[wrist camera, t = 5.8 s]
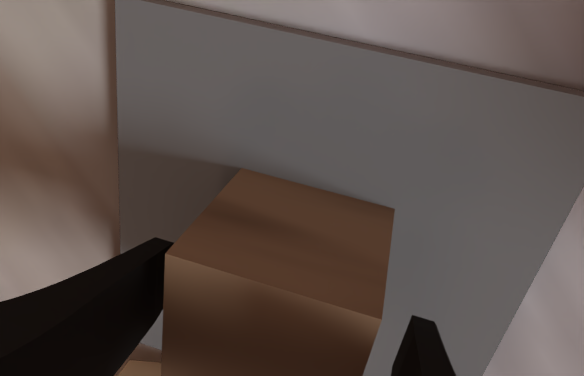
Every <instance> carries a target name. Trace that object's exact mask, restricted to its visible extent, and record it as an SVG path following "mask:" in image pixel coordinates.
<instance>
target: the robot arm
mask: <svg viewBox="0 0 584 376" xmlns="http://www.w3.org/2000/svg"><path fill="white" fill-rule="evenodd" d="M173 244H174V243H173V242H170V241H167V240H163V239H160V238H157V237H155V238H152V239H150V240H148V241H146V242H144V243H142V244H140V245H138V246H136V247H134V248H132V249H130V250H128V251H126V252H124V253H122V254H120V255H118V256H116V257H114V258H112V259H110V260H108V261H106V262H104V263H102V264H100V265H97V266H95V267H93V268H91V269H89V270H86V271H84V272H82V273H79V274H77V275H75V276H73V277H70V278H68V279H66V280H63V281H61V282H58V283H56V284H53V285H51V286H48V287H45V288H43V289H40V290H37V291H34V292H31V293H28V294H25V295H22V296H19V297H16V298H13V299H9V300H6V301H2V302H0V376H114V374H115V373H116V372H117V371H118V369H119V368H120V367H121V366H122V364H123V363H124V362H125V360H126V359H127V358H128V357H129V355H130V354H131V353H132V352H133V350H134V349H135V348H136V346H137V345H138V344H139V343H140V341H141V340H142V339H143V337H144V336H145V335H146V334H147V332H148V331H149V330H150V328H151V327H152V326H153V324H154V323H155V321H156V320H157V318H158V317H159V315H160V313H161V312H162V310H163V300H164V271H165V253H166V252H167V251H168V250H169V249H170V248H171V246H172V245H173ZM391 376H456V374H455V371H454V369H453V367H452V364H451V362H450V359H449V357H448V355H447V352H446V349H445V347H444V344H443V342H442V339H441V336H440V333H439V331H438V328H437V325H436V324H435V322H434V321H431V320H428V319H425V318H421V317H418V316H415V315H412V316H411V319H410V322H409V324H408V327H407V329H406V332H405V334H404V337H403V340H402V342H401V345H400V347H399V350H398V352H397V355H396V357H395V360H394V363H393V365H392V372H391Z"/></svg>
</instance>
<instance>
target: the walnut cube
mask: <svg viewBox="0 0 584 376" xmlns="http://www.w3.org/2000/svg"><path fill="white" fill-rule="evenodd" d="M394 213H395V209H393V208H390V207H386V206H382V205H378V204H375V203H371V202H367V201H363V200H360V199H356V198H352V197H348V196H345V195H341V194H337V193H333V192H330V191H326V190H322V189H319V188H315V187H311V186H307V185H304V184H300V183H296V182H292V181H289V180H285V179H281V178H277V177H274V176H270V175H266V174H262V173H259V172H255V171H251V170H247V169H244V168H241V169H240V170H239V172H238V173H237V174H236V175H235V176H234V177H233V178H232V179H231V180H230V182H229V183H228V184H227V185H226V186H225V187H224V188H223V189H222V191H221V192H220V193H219V194H218V195H217V196H216V197H215V198H214V199H213V201H212V202H211V203H210V204H209V205H208V206H207V207H206V208H205V210H204V211H203V212H202V213H201V214H200V215H199V216H198V217H197V218H196V220H195V221H194V222H193V223H192V224H191V225H190V226H189V227H188V229H187V230H186V231H185V232H184V233H183V234H182V235H181V236H180V237H179V239H178V240H177V241H176V242H175V243H174V244H173V245H172V246H171V248H170V249H169V250H168V251H167V252H166V253H165V271H164V300H163V329H162V358H161V376H363V373H364V370H365V367H366V364H367V361H368V358H369V356H370V353H371V350H372V347H373V344H374V341H375V338H376V335H377V332H378V330H379V327H380V324H381V321H382V315H383V306H384V298H385V289H386V281H387V272H388V264H389V255H390V247H391V238H392V230H393V221H394Z"/></svg>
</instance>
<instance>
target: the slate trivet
mask: <svg viewBox="0 0 584 376" xmlns="http://www.w3.org/2000/svg"><path fill="white" fill-rule="evenodd" d="M115 28H116V74H117V121H118V167H119V214H120V254H122V253H124V252H126V251H128V250H130V249H132V248H134V247H136V246H138V245H140V244H142V243H144V242H146V241H148V240H150V239H152V238H155V237H157V238H160V239H163V240H167V241H170V242H173V243H175V242H176V241H177V240H178V239H179V237H180V236H181V235H182V234H183V233H184V232H185V231H186V230H187V229H188V227H189V226H190V225H191V224H192V223H193V222H194V221H195V220H196V218H197V217H198V216H199V215H200V214H201V213H202V212H203V211H204V210H205V208H206V207H207V206H208V205H209V204H210V203H211V202H212V201H213V199H214V198H215V197H216V196H217V195H218V194H219V193H220V192H221V191H222V189H223V188H224V187H225V186H226V185H227V184H228V183H229V182H230V180H231V179H232V178H233V177H234V176H235V175H236V174H237V173H238V172H239V170H240V169H241V168H244V169H247V170H251V171H255V172H259V173H262V174H266V175H270V176H274V177H277V178H281V179H285V180H289V181H292V182H296V183H300V184H304V185H307V186H311V187H315V188H319V189H322V190H326V191H330V192H333V193H337V194H341V195H345V196H348V197H352V198H356V199H360V200H363V201H367V202H371V203H375V204H378V205H382V206H386V207H390V208H393V209H395V213H394V221H393V230H392V238H391V247H390V255H389V264H388V272H387V281H386V289H385V298H384V306H383V315H382V321H381V324H380V327H379V330H378V332H377V335H376V338H375V341H374V344H373V347H372V350H371V353H370V356H369V358H368V361H367V364H366V367H365V370H364V373H363V376H391V372H392V365H393V363H394V360H395V357H396V355H397V352H398V350H399V347H400V345H401V342H402V340H403V337H404V334H405V332H406V329H407V327H408V324H409V322H410V319H411V316H412V315H415V316H418V317H421V318H425V319H428V320H431V321H434V322H435V324H436V325H437V328H438V331H439V333H440V336H441V339H442V342H443V344H444V347H445V349H446V352H447V355H448V357H449V359H450V362H451V364H452V367H453V369H454V371H455V374H456V376H482V375H483V373H484V372H485V370H486V368H487V366H488V364H489V362H490V360H491V358H492V357H493V355H494V353H495V351H496V349H497V347H498V345H499V343H500V342H501V340H502V338H503V336H504V334H505V332H506V330H507V329H508V327H509V325H510V323H511V321H512V319H513V317H514V315H515V314H516V312H517V310H518V308H519V306H520V304H521V302H522V300H523V299H524V297H525V295H526V293H527V291H528V289H529V287H530V285H531V284H532V282H533V280H534V278H535V276H536V274H537V272H538V271H539V269H540V267H541V265H542V263H543V261H544V259H545V257H546V256H547V254H548V252H549V250H550V248H551V246H552V244H553V242H554V241H555V239H556V237H557V235H558V233H559V231H560V229H561V227H562V226H563V224H564V222H565V220H566V218H567V216H568V214H569V213H570V211H571V209H572V207H573V205H574V203H575V201H576V199H577V198H578V196H579V194H580V192H581V190H582V188H583V186H584V91H580V90H576V89H571V88H566V87H562V86H557V85H552V84H548V83H543V82H539V81H534V80H529V79H525V78H520V77H516V76H511V75H506V74H502V73H497V72H492V71H488V70H483V69H479V68H474V67H469V66H465V65H460V64H455V63H451V62H446V61H442V60H437V59H432V58H428V57H423V56H418V55H414V54H409V53H405V52H400V51H395V50H391V49H386V48H381V47H377V46H372V45H368V44H363V43H358V42H354V41H349V40H345V39H340V38H335V37H331V36H326V35H321V34H317V33H312V32H308V31H303V30H298V29H294V28H289V27H284V26H280V25H275V24H271V23H266V22H261V21H257V20H252V19H247V18H243V17H238V16H234V15H229V14H224V13H220V12H215V11H210V10H206V9H201V8H197V7H192V6H187V5H183V4H178V3H174V2H169V1H164V0H115ZM162 329H163V310H162V312H161V313H160V315H159V317H158V318H157V320H156V321H155V323H154V324H153V326H152V327H151V328H150V330H149V331H148V332H147V334H146V335H145V336H144V337H143V339H142V340H141V341H140V343H142V344H145V345H147V346H150V347H153V348H156V349H159V350H162Z"/></svg>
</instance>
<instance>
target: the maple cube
mask: <svg viewBox="0 0 584 376" xmlns="http://www.w3.org/2000/svg"><path fill="white" fill-rule="evenodd" d="M118 376H161V362H148V361H135V360H129V361H128V363H127V364H126V365H125V367H124V368H123V369H122V371H121V372H120V373H119V375H118Z"/></svg>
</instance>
